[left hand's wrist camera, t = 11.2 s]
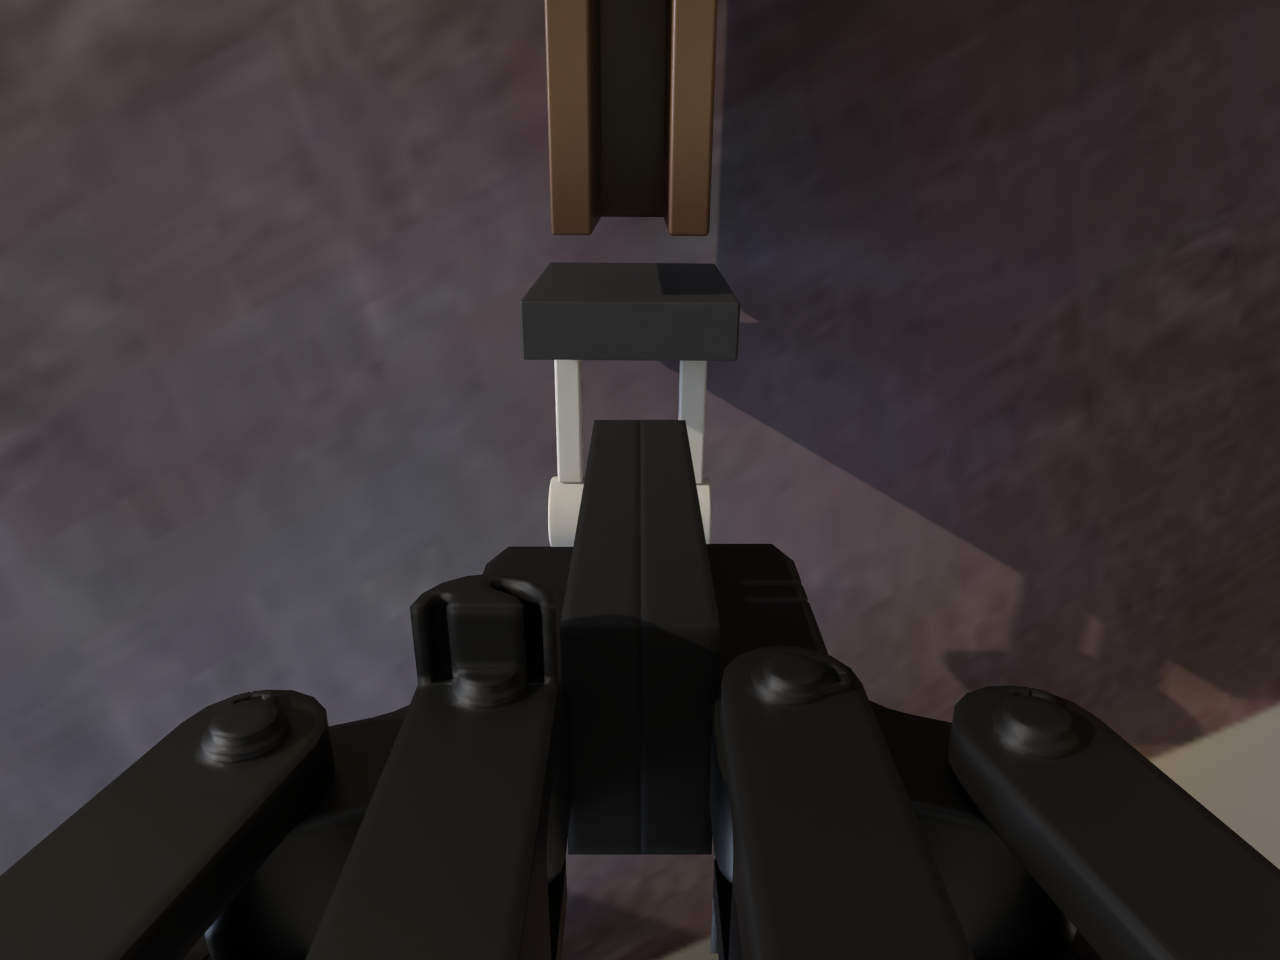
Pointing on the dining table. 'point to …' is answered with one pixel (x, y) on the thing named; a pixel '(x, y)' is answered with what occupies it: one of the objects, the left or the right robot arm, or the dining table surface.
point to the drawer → (628, 215)
